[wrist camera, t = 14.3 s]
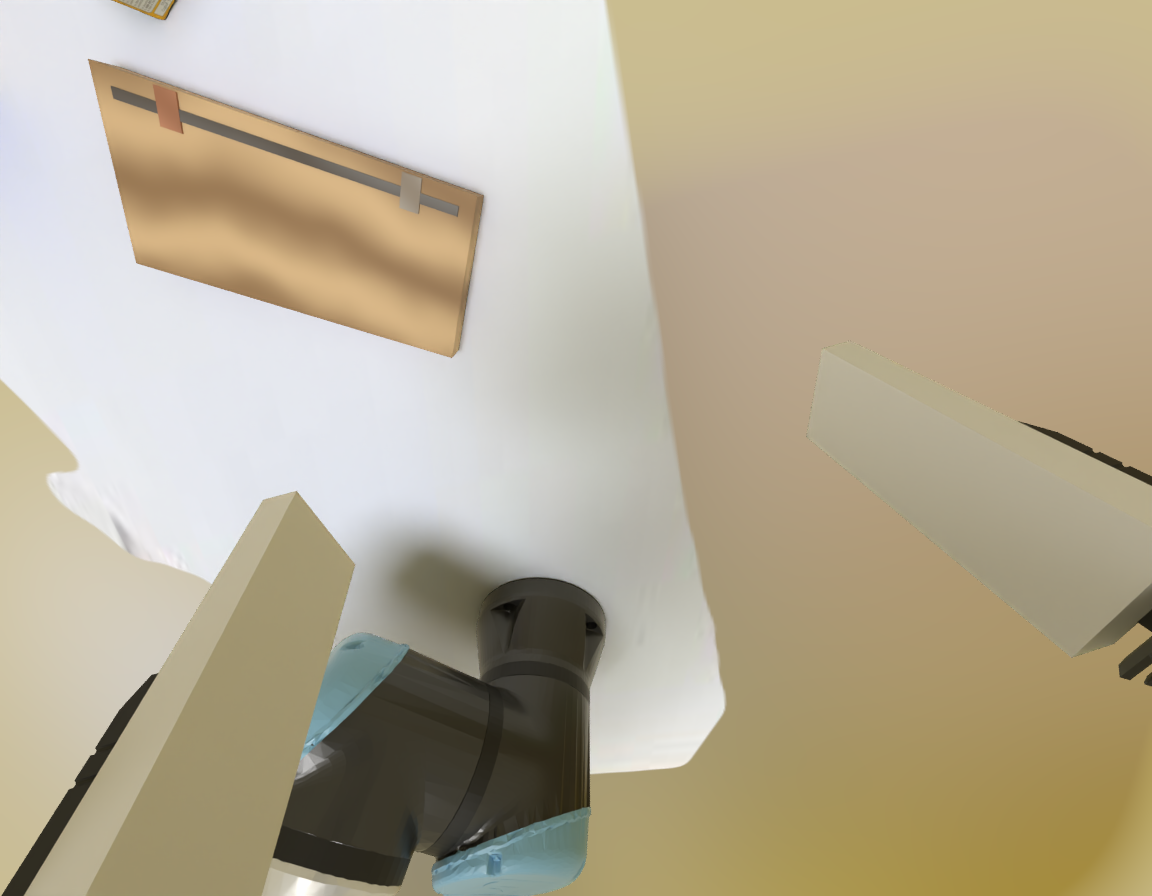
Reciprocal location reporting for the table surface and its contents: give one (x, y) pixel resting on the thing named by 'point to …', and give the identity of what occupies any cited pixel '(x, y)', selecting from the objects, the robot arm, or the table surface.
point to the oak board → (287, 214)
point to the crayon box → (150, 7)
